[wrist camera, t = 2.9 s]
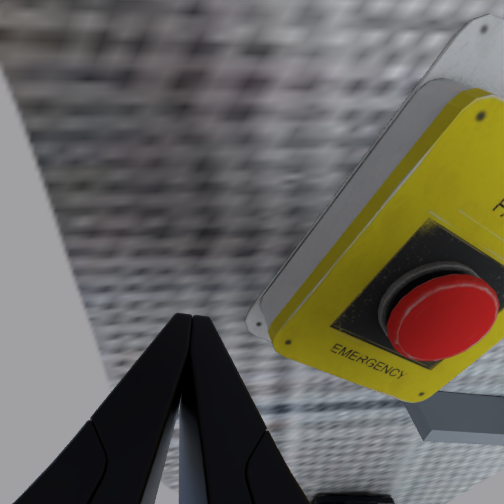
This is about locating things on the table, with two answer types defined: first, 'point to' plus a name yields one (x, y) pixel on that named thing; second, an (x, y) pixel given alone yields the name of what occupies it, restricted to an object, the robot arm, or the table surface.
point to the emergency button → (408, 239)
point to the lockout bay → (459, 418)
